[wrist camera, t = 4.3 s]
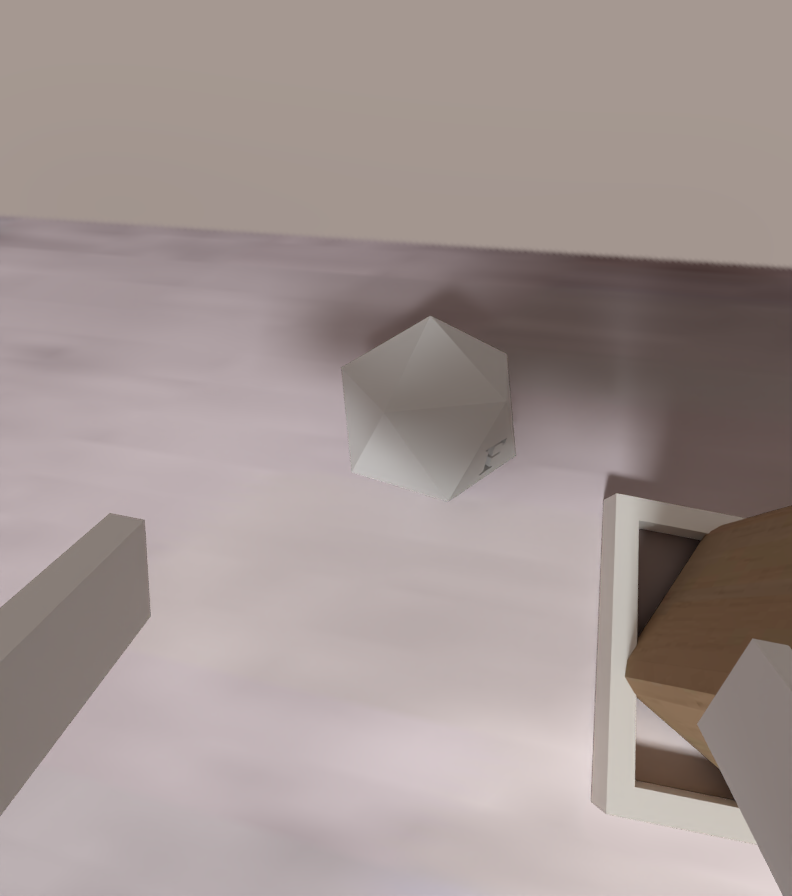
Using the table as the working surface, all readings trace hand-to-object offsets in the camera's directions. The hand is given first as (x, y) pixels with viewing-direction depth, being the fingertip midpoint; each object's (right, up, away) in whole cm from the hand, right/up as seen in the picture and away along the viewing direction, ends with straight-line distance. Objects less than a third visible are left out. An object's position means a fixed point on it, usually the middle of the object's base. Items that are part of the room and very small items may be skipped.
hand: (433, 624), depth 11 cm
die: (+1, +4, +17) cm, 18 cm away
